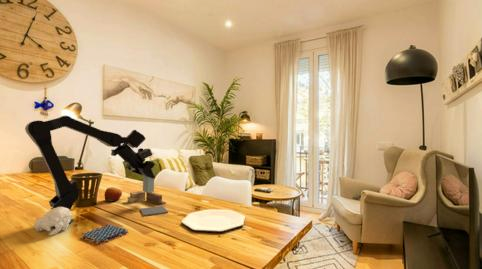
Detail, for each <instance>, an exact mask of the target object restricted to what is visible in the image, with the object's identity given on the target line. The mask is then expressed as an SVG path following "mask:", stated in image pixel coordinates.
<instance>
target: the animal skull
mask: <svg viewBox="0 0 482 269" xmlns="http://www.w3.org/2000/svg"><path fill="white" fill-rule="evenodd" d="M72 217H73V214H72V213H71V209H70V210H69V209H68V208H65V207H57V208H53V209H50V210H48V211H47V212H46V213H45V214H44V215H43V216H42V217H39V218H37V219H36V220H35V221H34V223H33V226H34V230H35V231H36V232H37V233H38V232H43V231H46V232H49V234H48V236H51V237H52V236H54V235H56V234H58V233H59V232H60V231H61V230H62V231H63V232H64V231H66V230H67V229H68V227H69V225H70V224H71V223H70V221H71V219H72ZM69 223H70V224H69ZM53 226H55V227H53ZM51 228H55V229H53V230H51Z"/></svg>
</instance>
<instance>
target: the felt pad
mask: <svg viewBox="0 0 482 269" xmlns="http://www.w3.org/2000/svg"><path fill="white" fill-rule="evenodd" d="M139 211H140V212H141V214H142V217H149V216H156V215H162V214H163V215H165V214H168V213H169V211H168V210H167V209H166V207H165V206H164V205H157V206H150V207H143V208H139Z"/></svg>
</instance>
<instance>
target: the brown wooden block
mask: <svg viewBox="0 0 482 269" xmlns="http://www.w3.org/2000/svg"><path fill="white" fill-rule="evenodd" d="M145 201H146V202H149V203H152V204H154V205H157V206H163V205H165V204H167V202H166V201H163V195H162V194H159V193H155V192H149V193H147V192H145Z"/></svg>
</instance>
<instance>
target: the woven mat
mask: <svg viewBox="0 0 482 269" xmlns="http://www.w3.org/2000/svg"><path fill="white" fill-rule="evenodd" d="M127 234H129V231H128V228H125V227H124V228H123V227H120V226H116V225H112V224H109V225H108V224H106V225H105V226H101V227H97V228H96V229H91V231H89V230H88V231H87V232H82V233H81V237H80V239H83V240H85V241H89V242H90V243H95V244H96V245H103V244H106V243H108V242H110V241H113V240H115V239H118V238H120V237H123V236H125V235H127Z"/></svg>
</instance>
